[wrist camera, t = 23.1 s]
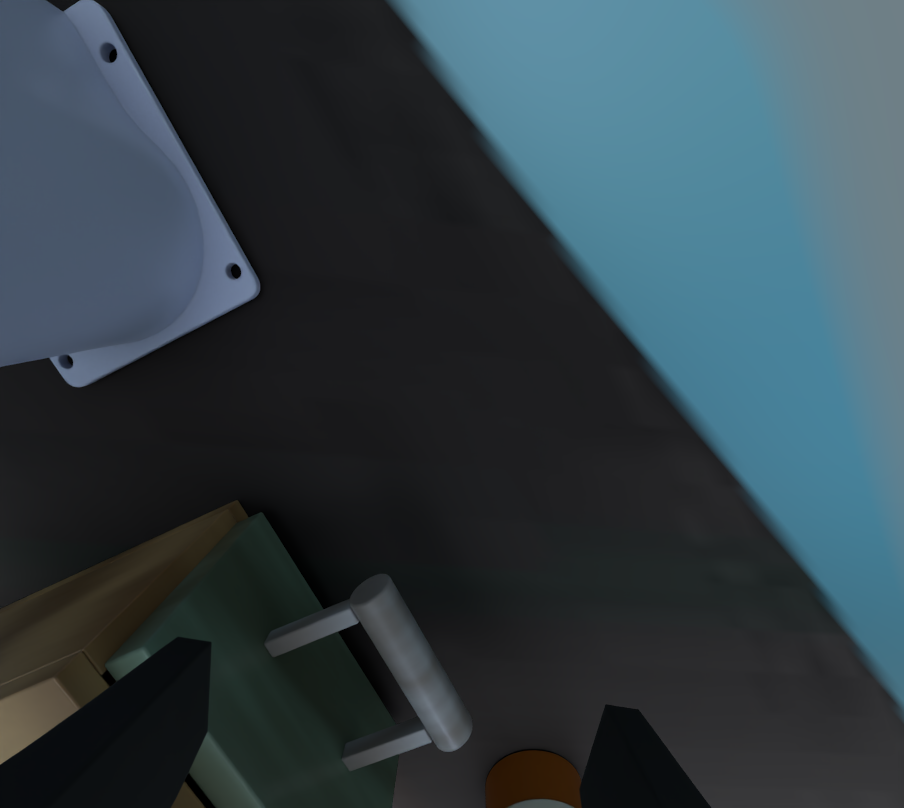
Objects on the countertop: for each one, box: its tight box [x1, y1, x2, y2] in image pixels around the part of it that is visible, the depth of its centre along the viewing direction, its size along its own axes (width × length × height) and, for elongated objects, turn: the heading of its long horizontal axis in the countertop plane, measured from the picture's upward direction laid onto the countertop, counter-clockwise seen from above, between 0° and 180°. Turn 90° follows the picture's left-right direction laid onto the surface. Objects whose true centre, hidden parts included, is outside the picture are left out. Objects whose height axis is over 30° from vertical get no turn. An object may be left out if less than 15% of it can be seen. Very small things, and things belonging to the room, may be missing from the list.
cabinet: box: [0, 500, 249, 808], centre depth 17 cm, size 14×13×9 cm
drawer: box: [101, 512, 473, 808], centre depth 16 cm, size 17×11×7 cm
